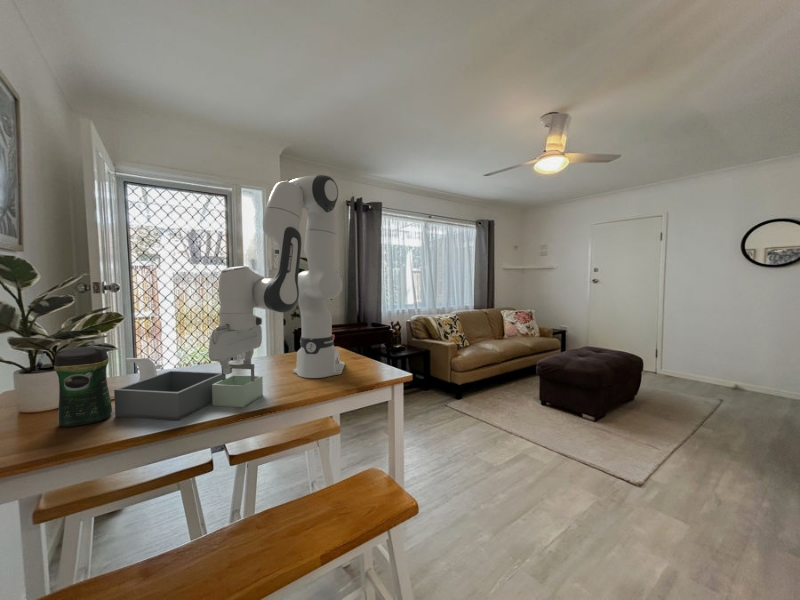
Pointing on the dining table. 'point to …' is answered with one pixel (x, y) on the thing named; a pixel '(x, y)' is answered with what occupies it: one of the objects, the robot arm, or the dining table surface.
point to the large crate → (166, 395)
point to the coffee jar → (82, 385)
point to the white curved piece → (144, 367)
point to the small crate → (237, 388)
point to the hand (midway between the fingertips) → (238, 369)
